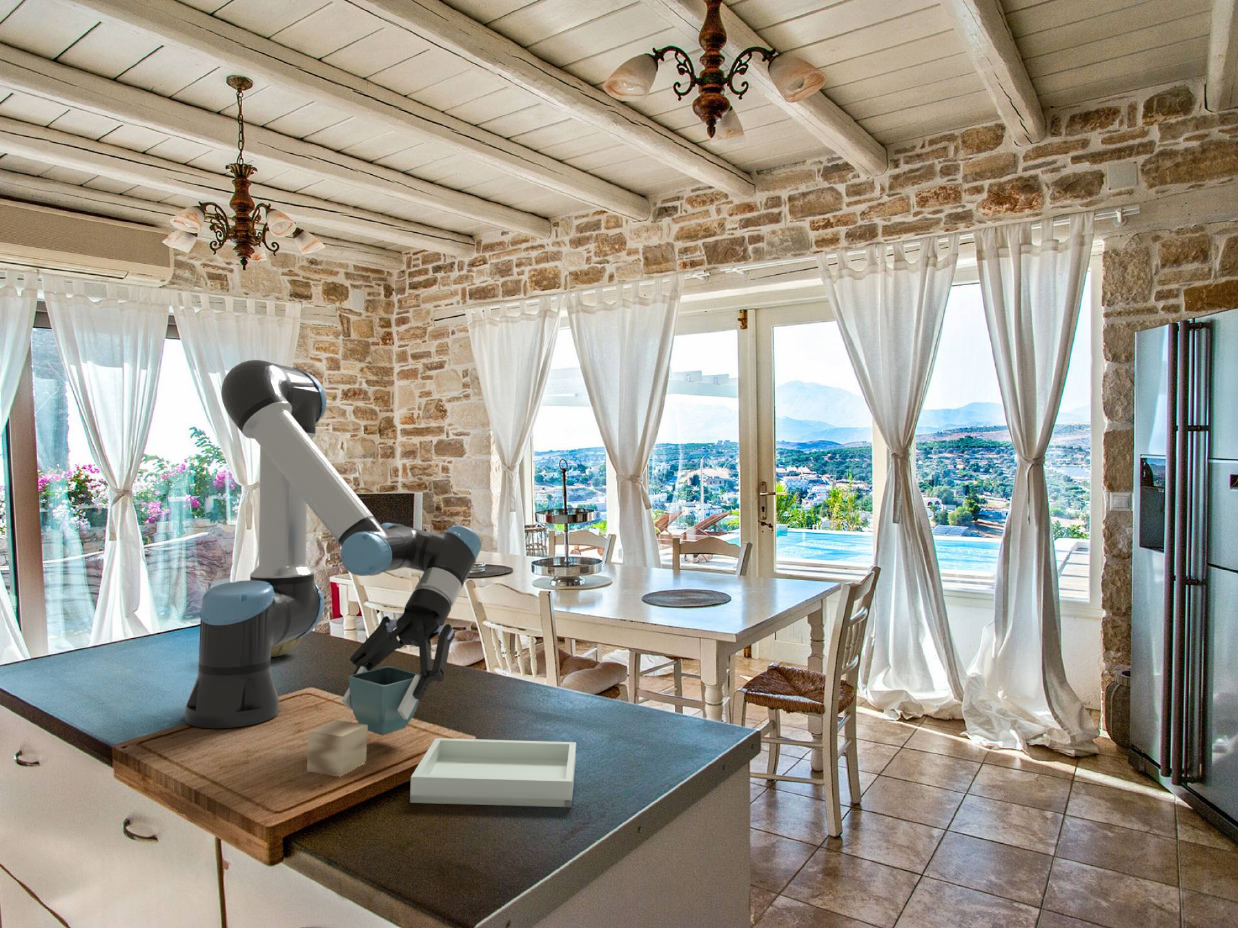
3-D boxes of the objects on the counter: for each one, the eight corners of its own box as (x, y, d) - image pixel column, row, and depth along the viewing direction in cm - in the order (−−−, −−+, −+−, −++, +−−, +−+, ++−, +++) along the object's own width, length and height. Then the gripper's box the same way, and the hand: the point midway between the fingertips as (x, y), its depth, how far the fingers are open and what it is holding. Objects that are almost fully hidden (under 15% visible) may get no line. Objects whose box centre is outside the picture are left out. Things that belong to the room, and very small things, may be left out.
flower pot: (380, 742, 125) (384, 685, 125) (343, 730, 129) (347, 675, 129) (422, 728, 132) (425, 674, 132) (385, 717, 137) (388, 665, 137)
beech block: (306, 771, 118) (308, 730, 118) (333, 758, 124) (335, 719, 124) (340, 777, 116) (342, 736, 116) (365, 763, 122) (367, 724, 122)
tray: (409, 802, 108) (410, 776, 108) (434, 760, 124) (435, 737, 124) (571, 807, 108) (572, 781, 108) (575, 764, 124) (576, 742, 124)
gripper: (494, 618, 142) (442, 732, 127) (387, 605, 149) (326, 711, 134) (482, 592, 137) (426, 708, 122) (371, 580, 144) (306, 687, 129)
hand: (374, 709), depth 128 cm, fingers closed on flower pot, 10 cm apart
